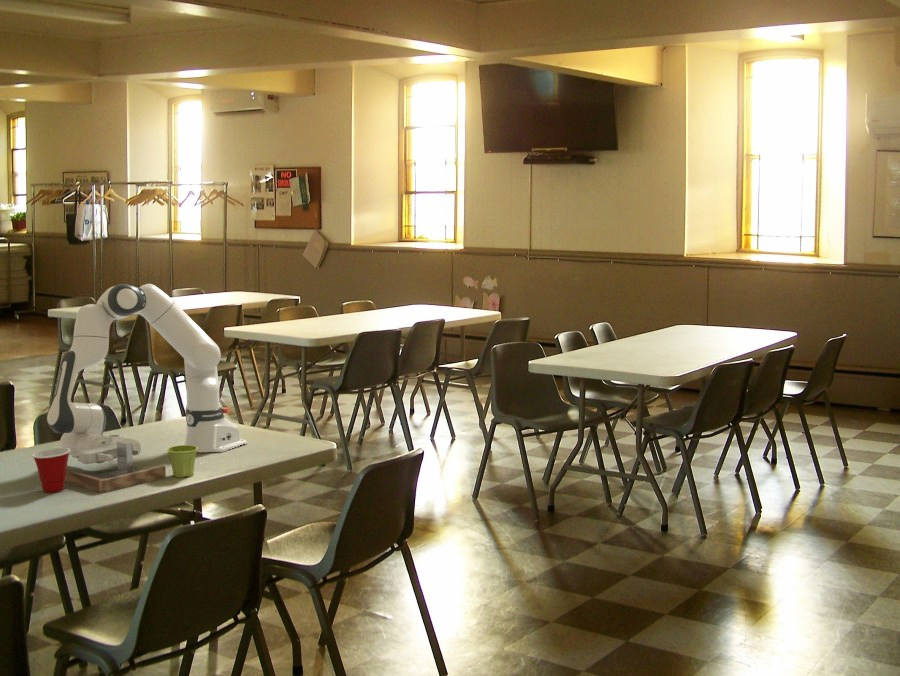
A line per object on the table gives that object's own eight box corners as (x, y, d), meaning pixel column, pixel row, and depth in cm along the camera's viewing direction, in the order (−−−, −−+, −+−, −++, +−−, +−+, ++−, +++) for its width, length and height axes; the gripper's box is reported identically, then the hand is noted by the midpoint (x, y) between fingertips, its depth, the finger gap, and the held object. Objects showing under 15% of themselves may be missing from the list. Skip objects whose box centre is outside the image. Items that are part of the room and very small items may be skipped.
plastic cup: (39, 486, 325) (37, 447, 324) (76, 485, 326) (74, 446, 325) (28, 495, 314) (26, 455, 313) (66, 495, 315) (64, 455, 314)
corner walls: (129, 467, 347) (128, 457, 347) (165, 477, 336) (165, 466, 335) (65, 482, 329) (65, 471, 329) (102, 492, 318) (101, 481, 317)
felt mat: (128, 468, 347) (128, 467, 346) (159, 476, 337) (159, 475, 337) (73, 481, 331) (73, 479, 331) (104, 489, 321) (104, 488, 321)
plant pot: (190, 480, 333) (190, 452, 332) (162, 478, 335) (161, 451, 334) (203, 472, 342) (202, 445, 341) (176, 471, 344) (175, 444, 343)
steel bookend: (123, 475, 337) (122, 440, 335) (133, 477, 334) (131, 442, 332) (109, 478, 333) (108, 443, 331) (119, 480, 330) (117, 445, 328)
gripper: (68, 445, 334) (94, 451, 325) (124, 433, 350) (150, 439, 341) (69, 464, 334) (95, 471, 326) (125, 452, 350) (151, 459, 342)
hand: (124, 455), depth 334 cm, fingers open, 8 cm apart
